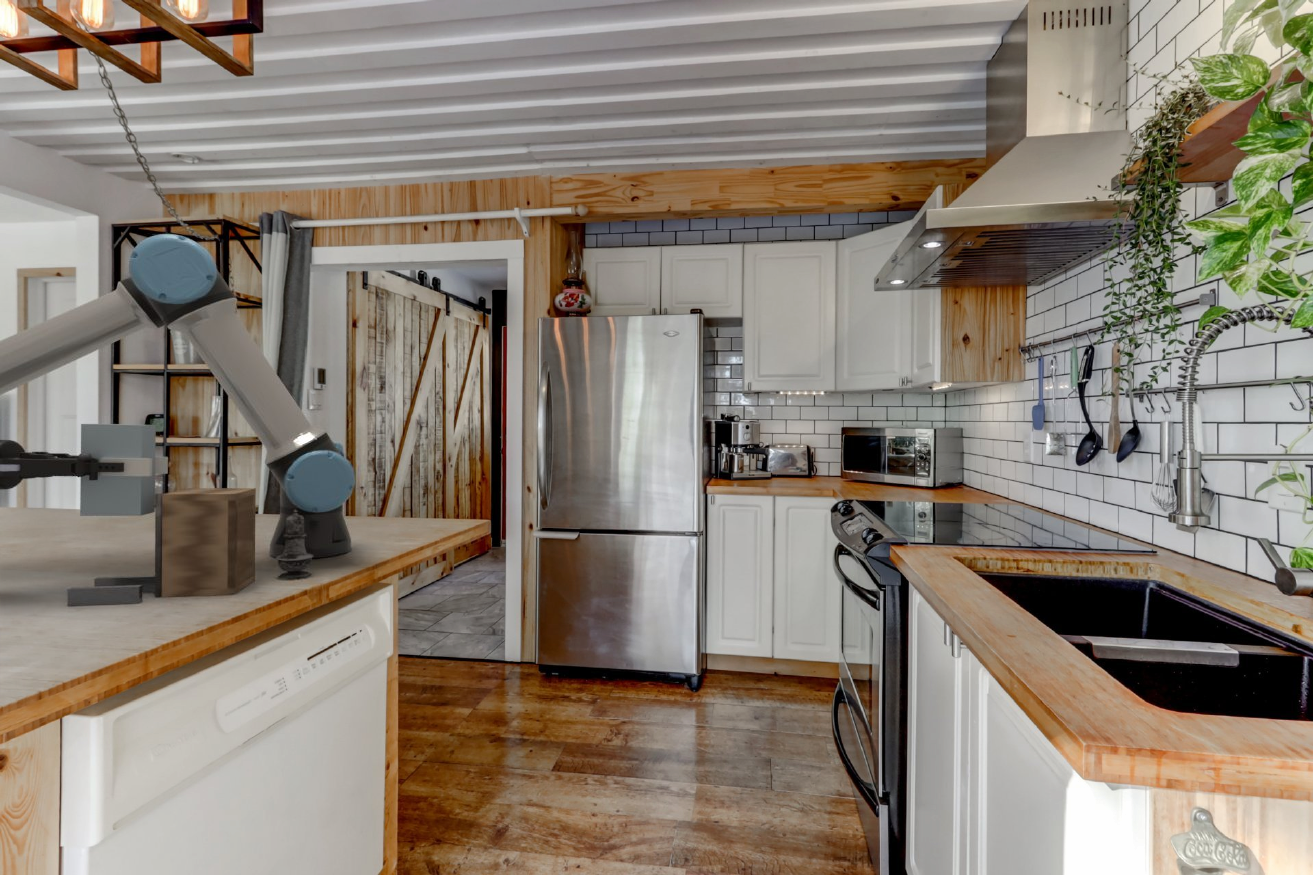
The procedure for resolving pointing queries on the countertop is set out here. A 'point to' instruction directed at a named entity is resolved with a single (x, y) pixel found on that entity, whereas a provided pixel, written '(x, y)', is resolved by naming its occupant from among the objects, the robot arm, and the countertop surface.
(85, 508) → the door
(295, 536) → the salt shaker
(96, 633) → the countertop surface
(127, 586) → the hinge bracket
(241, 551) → the cabinet
